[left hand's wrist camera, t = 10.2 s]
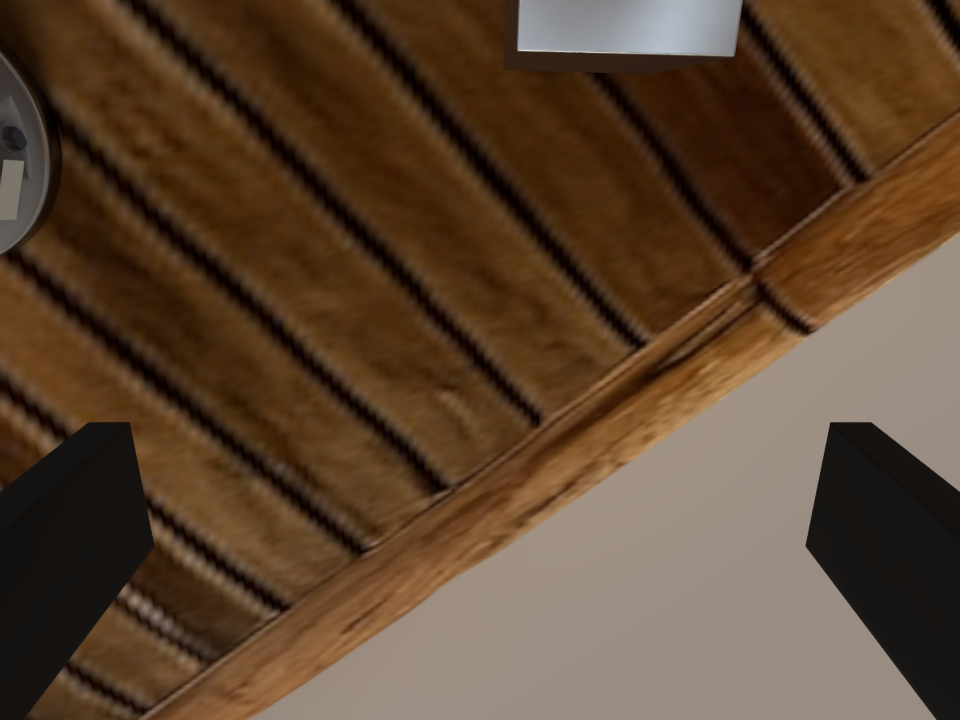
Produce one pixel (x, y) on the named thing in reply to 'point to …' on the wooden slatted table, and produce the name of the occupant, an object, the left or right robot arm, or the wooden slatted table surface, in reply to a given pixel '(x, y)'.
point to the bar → (618, 34)
